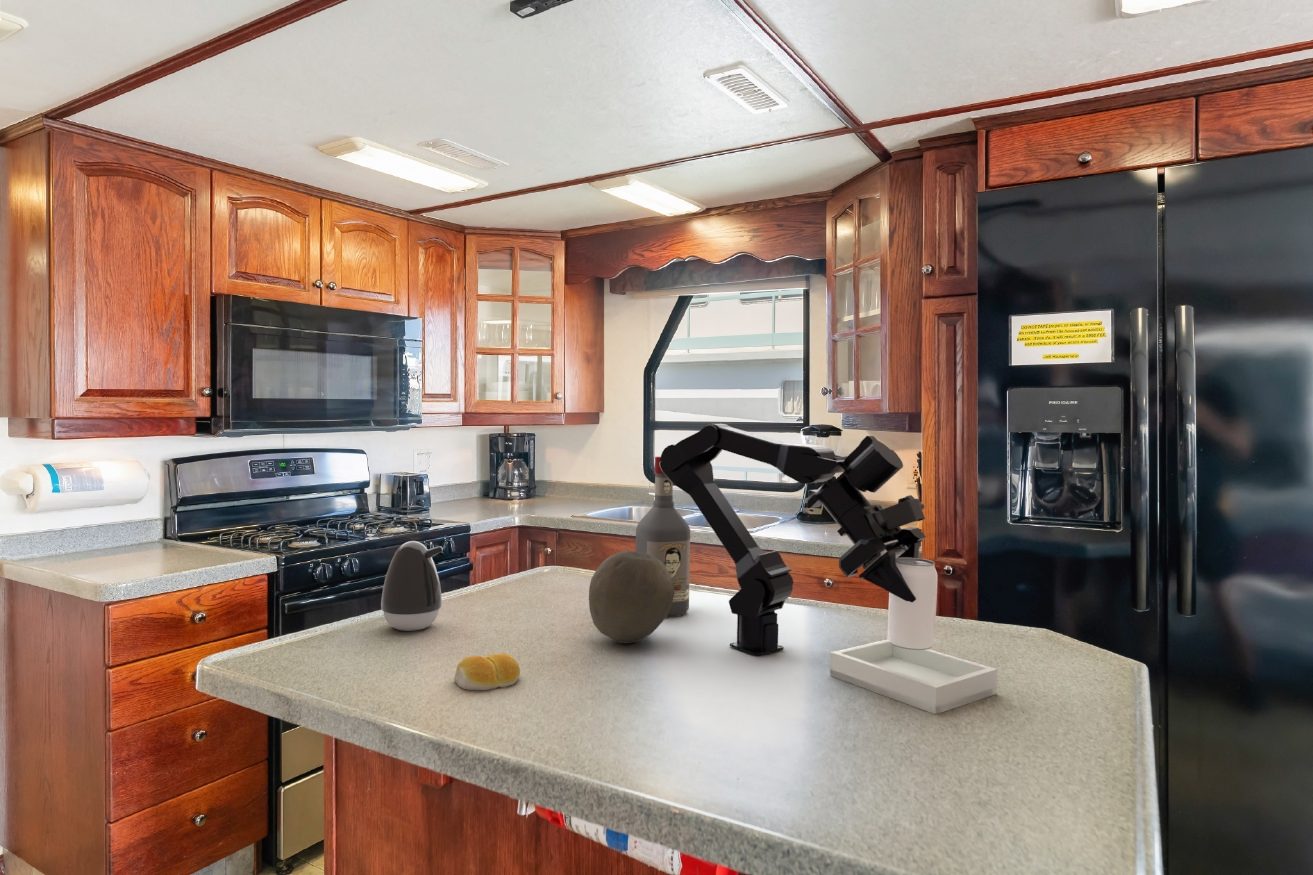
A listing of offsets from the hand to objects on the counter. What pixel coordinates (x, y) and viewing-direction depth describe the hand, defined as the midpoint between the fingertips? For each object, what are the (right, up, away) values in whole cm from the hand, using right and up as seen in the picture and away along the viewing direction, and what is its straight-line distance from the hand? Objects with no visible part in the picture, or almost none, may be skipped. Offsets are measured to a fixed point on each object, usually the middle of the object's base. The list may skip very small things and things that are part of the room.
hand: (921, 597), depth 114 cm
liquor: (-37, -11, +41) cm, 56 cm away
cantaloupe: (-42, -12, +21) cm, 49 cm away
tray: (-1, -13, +1) cm, 13 cm away
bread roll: (-62, -12, 0) cm, 63 cm away
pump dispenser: (-81, -11, +27) cm, 86 cm away
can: (-1, -7, +1) cm, 7 cm away
